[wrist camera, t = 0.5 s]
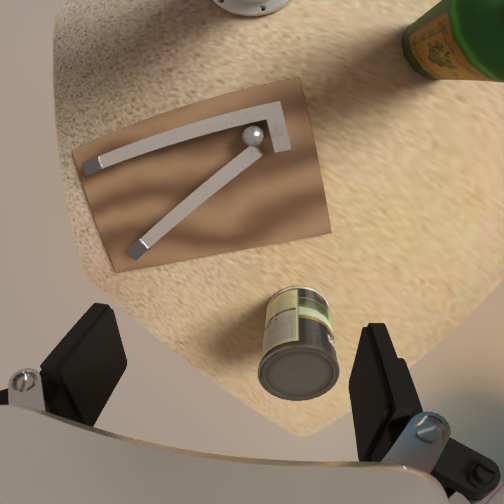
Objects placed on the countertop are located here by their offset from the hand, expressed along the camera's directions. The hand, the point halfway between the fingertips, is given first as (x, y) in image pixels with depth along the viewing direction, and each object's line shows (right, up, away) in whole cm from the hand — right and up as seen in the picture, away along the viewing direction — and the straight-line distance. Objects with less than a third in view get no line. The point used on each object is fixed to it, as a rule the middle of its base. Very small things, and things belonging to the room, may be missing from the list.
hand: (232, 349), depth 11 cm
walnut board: (-7, +13, +33) cm, 36 cm away
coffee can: (+8, -6, +40) cm, 41 cm away
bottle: (+25, +31, +21) cm, 44 cm away
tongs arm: (-7, +12, +31) cm, 34 cm away
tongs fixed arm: (-8, +17, +29) cm, 35 cm away
